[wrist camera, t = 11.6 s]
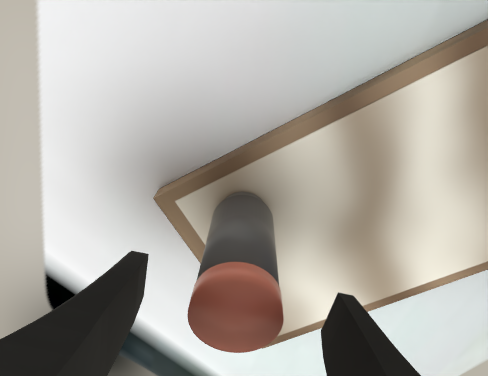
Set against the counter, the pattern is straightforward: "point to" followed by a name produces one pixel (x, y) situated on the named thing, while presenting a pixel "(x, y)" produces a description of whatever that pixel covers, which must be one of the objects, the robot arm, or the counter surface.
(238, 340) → the marker
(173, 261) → the counter surface
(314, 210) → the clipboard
